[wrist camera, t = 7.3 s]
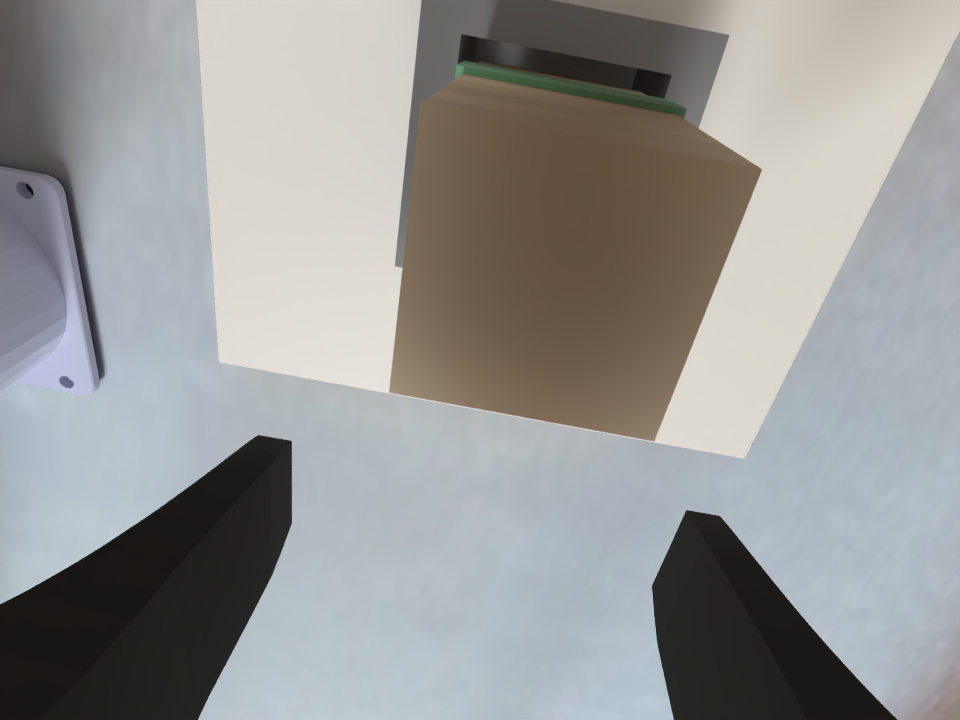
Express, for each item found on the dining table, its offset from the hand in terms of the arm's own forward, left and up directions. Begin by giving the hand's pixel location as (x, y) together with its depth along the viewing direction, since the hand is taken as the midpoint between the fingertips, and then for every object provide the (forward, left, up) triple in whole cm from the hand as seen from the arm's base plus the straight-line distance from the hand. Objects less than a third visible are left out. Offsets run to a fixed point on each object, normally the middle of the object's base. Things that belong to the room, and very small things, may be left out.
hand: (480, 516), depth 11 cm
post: (0, +5, -5) cm, 7 cm away
